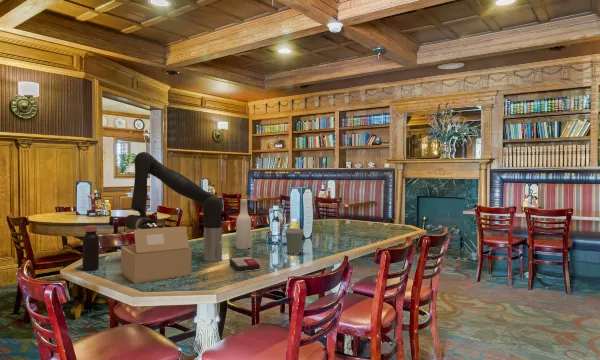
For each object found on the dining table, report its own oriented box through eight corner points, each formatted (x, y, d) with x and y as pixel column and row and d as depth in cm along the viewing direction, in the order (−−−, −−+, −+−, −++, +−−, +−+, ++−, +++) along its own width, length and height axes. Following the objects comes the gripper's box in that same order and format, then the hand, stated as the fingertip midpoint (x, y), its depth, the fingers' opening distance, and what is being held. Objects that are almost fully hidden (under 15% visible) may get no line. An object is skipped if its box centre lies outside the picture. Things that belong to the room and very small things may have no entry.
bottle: (90, 271, 184) (90, 227, 183) (78, 270, 186) (79, 226, 186) (102, 268, 190) (102, 225, 190) (91, 267, 192) (91, 225, 192)
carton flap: (185, 226, 183) (186, 226, 182) (188, 248, 179) (189, 247, 179) (133, 230, 169) (134, 229, 169) (136, 253, 166) (136, 252, 165)
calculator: (237, 265, 187) (229, 257, 201) (237, 274, 187) (229, 265, 201) (260, 263, 191) (251, 255, 205) (259, 272, 191) (250, 264, 205)
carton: (175, 266, 196) (175, 241, 196) (191, 275, 180) (192, 248, 180) (120, 273, 181) (120, 246, 181) (133, 283, 165) (133, 254, 165)
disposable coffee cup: (292, 251, 239) (292, 226, 238) (306, 254, 232) (307, 228, 232) (280, 254, 230) (281, 228, 230) (296, 257, 224) (296, 229, 223)
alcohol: (250, 249, 243) (251, 199, 242) (236, 249, 241) (236, 199, 241) (250, 247, 252) (251, 198, 251) (235, 247, 250) (236, 198, 250)
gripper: (131, 218, 189) (142, 222, 175) (159, 217, 197) (172, 220, 183) (131, 234, 189) (142, 239, 175) (159, 232, 197) (172, 237, 183)
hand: (157, 230), depth 179 cm, fingers closed
